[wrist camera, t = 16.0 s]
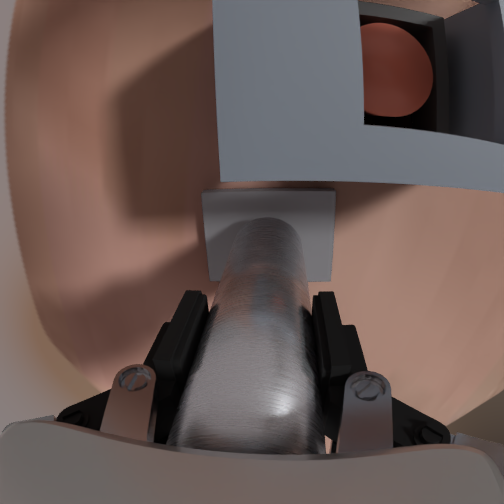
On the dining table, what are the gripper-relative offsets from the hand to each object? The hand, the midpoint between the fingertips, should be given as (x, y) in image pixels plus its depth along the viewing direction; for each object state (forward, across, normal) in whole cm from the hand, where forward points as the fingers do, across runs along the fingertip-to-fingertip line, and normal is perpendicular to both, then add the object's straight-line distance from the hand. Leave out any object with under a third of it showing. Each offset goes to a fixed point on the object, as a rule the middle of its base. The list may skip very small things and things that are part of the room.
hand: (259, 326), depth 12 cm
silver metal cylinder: (+7, 0, 0) cm, 7 cm away
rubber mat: (+10, 0, 0) cm, 10 cm away
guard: (+9, -6, -10) cm, 15 cm away
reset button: (+8, -6, -10) cm, 14 cm away
